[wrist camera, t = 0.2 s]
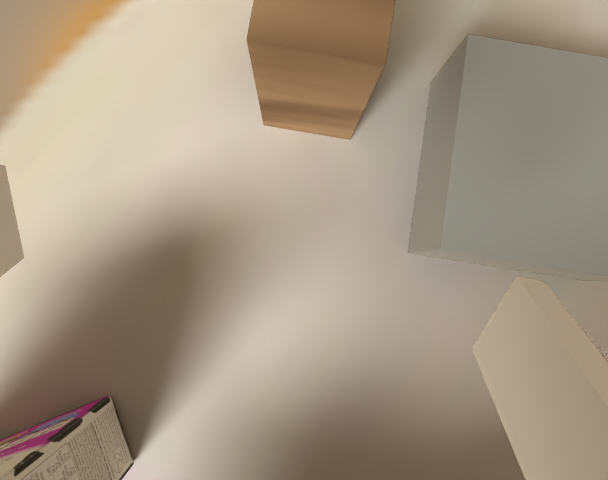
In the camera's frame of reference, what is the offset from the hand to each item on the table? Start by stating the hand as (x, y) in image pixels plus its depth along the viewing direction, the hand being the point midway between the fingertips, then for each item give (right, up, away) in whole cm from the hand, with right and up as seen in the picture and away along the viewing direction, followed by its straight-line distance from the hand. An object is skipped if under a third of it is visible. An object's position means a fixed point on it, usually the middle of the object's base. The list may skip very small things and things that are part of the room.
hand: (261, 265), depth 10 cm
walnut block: (+2, +11, +16) cm, 20 cm away
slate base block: (+15, +5, +17) cm, 23 cm away
